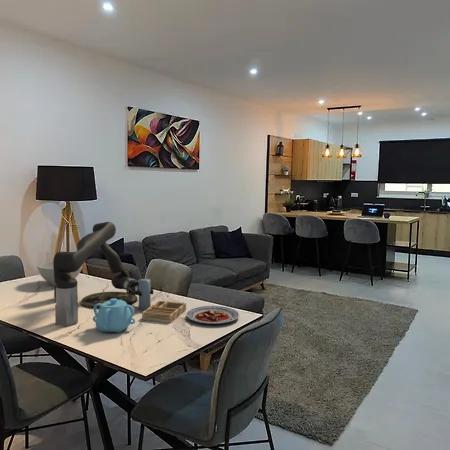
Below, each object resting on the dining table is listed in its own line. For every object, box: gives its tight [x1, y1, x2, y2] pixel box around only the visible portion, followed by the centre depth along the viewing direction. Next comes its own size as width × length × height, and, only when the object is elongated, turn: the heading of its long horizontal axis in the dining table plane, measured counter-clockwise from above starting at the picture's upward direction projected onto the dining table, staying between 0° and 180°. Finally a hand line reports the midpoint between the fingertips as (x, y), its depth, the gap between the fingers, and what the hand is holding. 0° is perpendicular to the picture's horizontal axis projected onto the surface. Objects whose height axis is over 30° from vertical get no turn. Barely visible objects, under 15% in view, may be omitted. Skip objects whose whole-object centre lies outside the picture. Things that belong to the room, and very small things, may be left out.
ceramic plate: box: [186, 305, 240, 325], centre depth 200 cm, size 26×26×3 cm
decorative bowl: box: [36, 260, 84, 286], centre depth 260 cm, size 27×27×12 cm
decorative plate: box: [80, 291, 138, 310], centre depth 225 cm, size 30×2×30 cm
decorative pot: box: [92, 298, 136, 333], centre depth 182 cm, size 16×16×14 cm
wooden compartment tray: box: [141, 300, 187, 324], centre depth 203 cm, size 20×15×4 cm
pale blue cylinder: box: [138, 278, 152, 311], centre depth 212 cm, size 6×6×15 cm
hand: (146, 293), depth 210 cm, fingers closed on pale blue cylinder, 6 cm apart
